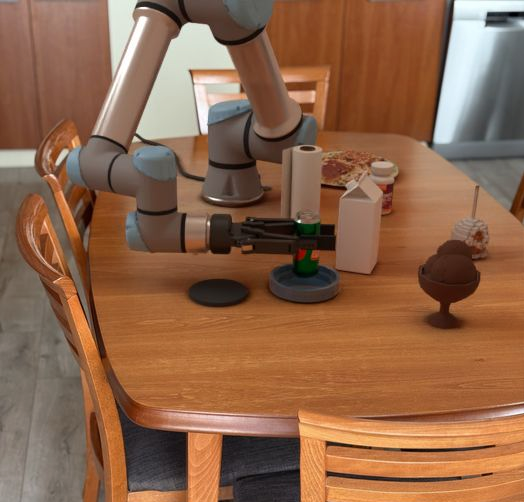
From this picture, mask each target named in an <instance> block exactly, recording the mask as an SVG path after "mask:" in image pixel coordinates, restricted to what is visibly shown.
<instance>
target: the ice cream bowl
mask: <svg viewBox="0 0 524 502" xmlns="http://www.w3.org/2000/svg"><path fill="white" fill-rule="evenodd" d="M481 273H482V272H481V271H479V270H477V267H476V264H475V262H474V261H473V259H472V249H471V248H470V247H469V246H468V245H467V244H466V243H465V242H463V241H461V240H450V239H447V240H446V241H445V242H443V243H442V244H441V245H439V246H438V247H437V249H436V253H434V254H433V255H431V256H429V257H428V258H427V260H425V263H423V264H421V265H419V266H418V270H417V282H418V284H419V286H420V288H421V290H422V291H423V292H424V293H425V294H426V295H428V296H429V297H430V298H431V299H433V300H434V301H436V302H439V310H438V311H435V312H433V313H431V314H429V315H428V317H427V323H428V324H430V325H431V326H432V327H435V328H439V329H453V328H456V327H457V326H458V325H459V318H458V317H456V316H455V315H453V314H452V313H451V312H450V307H451V305H452V304H456V303H459V302H460V301H463V300H465V299H467V298H469V297H471V296H472V295H473V294H475V292H476V291H477V289H478V288H479V285H480V282H481V276H482V275H481Z"/></svg>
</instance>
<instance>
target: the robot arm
mask: <svg viewBox="0 0 524 502" xmlns="http://www.w3.org/2000/svg"><path fill="white" fill-rule="evenodd" d="M274 5H275V0H137V1H136V4H135V6H134V8H133V11H132V14H131V15H132V17H131V18H132V20H133V22H134V23H133V26H132V29H131V31H130V34H129V36H128V39H127V42H126V44H125V46H124V49H123V52H122V55H121V57H120V59H119V63H118V65H117V67H116V70H115V72H114V74H113V77H112V81H111V82H110V85H109V88H108V90H107V93H106V95H105V99H104V101H103V103H102V106H101V108H100V112H99V114H98V116H97V119H96V121H95V124H94V127H93V128H92V129H93V130H92V132H91V134H90V137H89V139H88V142H87V143H86V145H78V146H76V147H74V148H73V149H72V150H71V151H70V152H69V153H68V155H67V158H66V160H65V161H66V162H65V171H66V175H67V178H68V179H69V181H70V182H71V183H72V184H73V185H75V186H78V187H81V188H86V189H88V190H91V191H99V192H105V193H111V194H116V195H120V196H125V197H129V198H135V202H136V205H135V206H136V210H133V211H130V212H128V214H127V216H126V220H125V241H126V244H127V247H128V248H129V250H130V251H133V252H139V253H140V252H143V253H150V254H156V253H158V254H161V253H162V254H163V253H164V254H192V255H193V256H198V255H199V254H203V255H205V254H208V253H209V251H210V253H211V254H212V255H226V256H227V255H230V254H231V252H232V247H233V248H239V249H241V251H240V253H241V255H246V256H247V255H253V254H255V255H256V254H257V255H284V256H285V255H286V256H287V255H288V256H292V255H299V249H300V250H320V251H326V252H328V251H329V252H330V251H332V252H333V251H334V252H336V249H337V235H336V224H335V223H321V233H320V235H303V234H300V237H297V236H293V223H294V218H281V217H257V216H249V215H247V216H245V217H244V218H245V219H244V221H239V222H233V217H232V215H231V214H230V213H212V214H211V216H210V214H209V213H208V212H180V211H178V210H179V209H178V171H179V174H181V175H182V176H184V177H186V178H189V179H193V180H197V181H202V182H203V184H202V187H201V199H202V200H203V201H204V202H206V203H208V204H211V205H214V206H217V207H218V206H219V207H227V208H229V207H231V208H239V207H240V208H241V207H248V206H253V205H255V204H258V203H260V202H262V200H263V199H264V187H263V185H262V181H261V180H262V177H261V175H260V173H259V171H258V166H257V161H261V162H266V163H272V164H277V165H282V159H283V150H286V149H289V148H291V147H295V146H300V145H312V146H316V144H317V138H318V131H319V130H318V120H317V119H316V117H315V116H313V115H310V114H307V115H306V114H304V113H303V110H302V108H301V106H300V104H299V102H298V101H297V100H295V99H294V98H292V97H290V94H289V91H288V88H287V86H286V84H285V83H286V82H285V80H284V77H283V75H282V72H281V69H280V66H279V63H278V60H277V58H276V55H275V52H274V50H273V47H272V44H271V41H270V38H269V36H268V32H267V30H266V29H267V27H268V25H269V22H270V20H271V17H272V15H273V12H274V11H273V10H274ZM188 23H190V24H198V25H206V26H208V27H209V30H210V32H211V34H212V37H213V38H214V40H215V42H217V44H220V45H222V46H224V47H226V50H227V53H228V55H229V57H230V60H231V62H232V64H233V68H234V69H235V71H236V74H237V76H238V80H239V81H240V83H241V87H242V88H243V90H244V93H245V96H246V98H241V99H230V100H224V101H220V102H216V103H214V104H212V105H211V106H210V107H209V109H208V111H207V123H206V126H207V152H208V153H207V154H208V167H207V170H206V174H205V176H199V175H194V174H191V173H189V172H186V171H184V170H183V167H182V164H181V163H180V159H179V157H178V156H177V155H178V154H176V152H175V151H174V150H173V149H172V148H170V147H168V146H166V145H165V144H162V143H160V142H157V141H153V140H150V139H147V138H144V137H142V136H141V135H140V134H139V133H138V132H137V130H138V128H139V125H140V123H141V120H142V118H143V115H144V113H145V110H146V108H147V104H148V102H149V99H150V96H151V94H152V92H153V89H154V86H155V83H156V81H157V78H158V76H159V73H160V70H161V68H162V65H163V62H164V60H165V57H166V54H167V53H168V50H169V47H170V45H171V42H172V40H175V39H177V38H178V37H179V36H180V33H181V30H182V29H183V27H184V26H185V25H186V24H188ZM135 137H136V138H137V139H138V140H139V141H140V142H143V143H145V144H149V145H143V146H141V147H138V148H136V149H135V150H134V152H133V154H129V152H130V151H129V150H130V148H131V145H132V143H133V140H134V138H135ZM177 169H178V170H177Z"/></svg>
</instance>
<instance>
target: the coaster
mask: <svg viewBox="0 0 524 502" xmlns="http://www.w3.org/2000/svg"><path fill="white" fill-rule="evenodd" d="M188 297H189V299H190V300H192V301H193V302H194V303H196V304H199V305H202V306H205V307H214V308H221V307H223V308H224V307H230V306H234V305H237V304H241V303H242V302H244V301H245V300H246V299H247V297H248V288H247V287H246V285H245V284H244V283H242V282H239V281H237V280H234V279H228V278H209V279H203V280H200V281H197V282H195V283H193V284H192V285H191V286H190V287H189V288H188Z"/></svg>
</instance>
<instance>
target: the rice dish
mask: <svg viewBox="0 0 524 502" xmlns="http://www.w3.org/2000/svg"><path fill="white" fill-rule="evenodd" d="M374 162H389V163H392V164H393V173H392V174H391V175H392V176H393V177H394V178H396V177H397V176H398V175H399V171H400V170H399V167H398V165H397V164H396V163H394V162H393V161H391V160H389V159H388V158H385V157H383V156H378V155H377V154H375V153H371V152H367V151H355V150H353V149H352V148H351V149H350V150H347V151H346V150H337V151H325V152H322V170H321V185H326V186H327V185H328V186H329V185H330V186H335V187H346V186H345V185H346V184H347V183H348V182H350V181H351V180H353V179H355V181H356V182H358V181H359V179H360V178H361V177H362V175H363V174H364V173H365V172H366V171H367V170H368V174H367V176H369V175H370V174H371V173H372V172H371V164H372V163H374Z"/></svg>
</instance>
